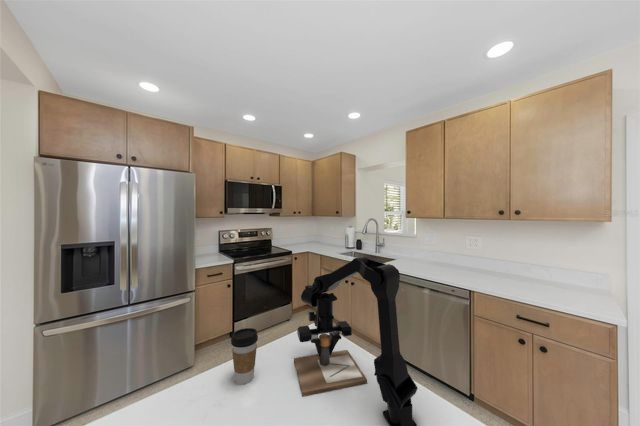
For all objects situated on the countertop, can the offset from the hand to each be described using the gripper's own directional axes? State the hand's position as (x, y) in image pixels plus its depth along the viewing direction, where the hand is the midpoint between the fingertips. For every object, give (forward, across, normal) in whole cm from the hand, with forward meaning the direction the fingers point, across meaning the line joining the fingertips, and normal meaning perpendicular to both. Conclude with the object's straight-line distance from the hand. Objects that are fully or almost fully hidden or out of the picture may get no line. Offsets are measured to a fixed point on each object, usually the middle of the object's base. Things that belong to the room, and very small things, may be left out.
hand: (324, 355), depth 81 cm
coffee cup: (+4, +27, -2) cm, 27 cm away
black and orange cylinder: (+2, 0, 0) cm, 2 cm away
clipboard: (+4, 0, +2) cm, 5 cm away
